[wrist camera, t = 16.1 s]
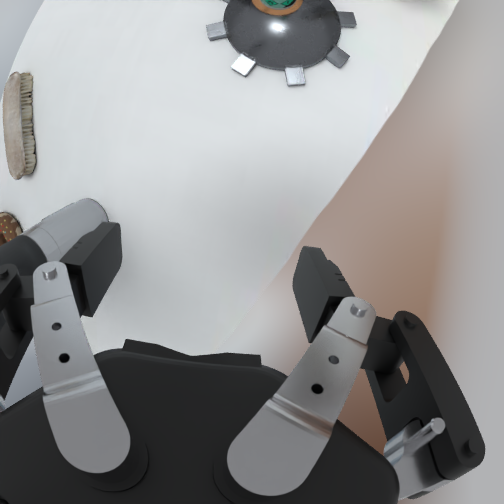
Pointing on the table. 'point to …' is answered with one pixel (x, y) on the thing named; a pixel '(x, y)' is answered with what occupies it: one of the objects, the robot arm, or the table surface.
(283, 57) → the sprocket plate
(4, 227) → the donut
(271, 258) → the table surface
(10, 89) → the shoe brush
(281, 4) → the spray can
